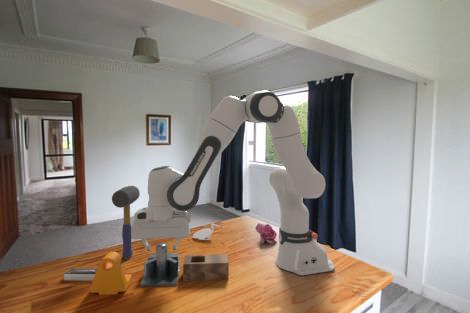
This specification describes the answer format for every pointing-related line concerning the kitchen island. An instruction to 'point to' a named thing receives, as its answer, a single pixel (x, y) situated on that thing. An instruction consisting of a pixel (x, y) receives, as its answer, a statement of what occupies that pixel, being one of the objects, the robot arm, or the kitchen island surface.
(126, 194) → the rubber mallet
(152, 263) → the V-block
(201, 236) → the figurine
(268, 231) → the flower
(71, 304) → the kitchen island surface
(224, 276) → the walnut beam
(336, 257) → the kitchen island surface
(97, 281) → the bracket
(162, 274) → the steel axle
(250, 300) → the kitchen island surface
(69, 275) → the multiport hub
